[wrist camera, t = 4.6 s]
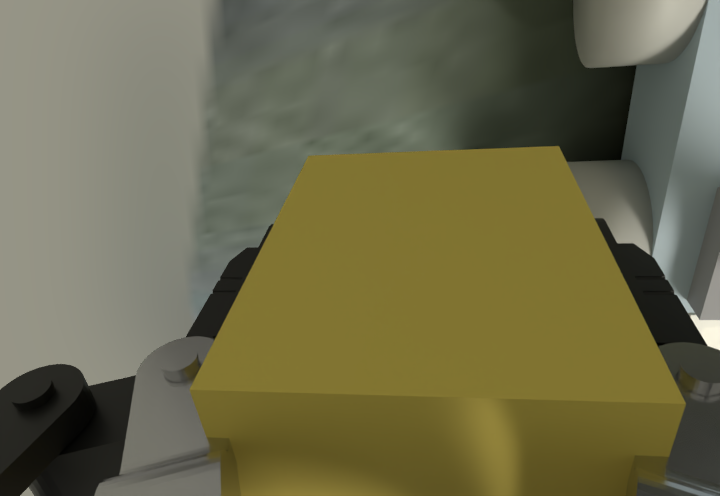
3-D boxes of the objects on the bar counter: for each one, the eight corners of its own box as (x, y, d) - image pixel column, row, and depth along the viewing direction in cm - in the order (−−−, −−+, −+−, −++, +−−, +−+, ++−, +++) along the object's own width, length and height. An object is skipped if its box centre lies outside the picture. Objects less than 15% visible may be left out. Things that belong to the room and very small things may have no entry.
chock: (308, 155, 11) (189, 390, 6) (558, 146, 11) (685, 402, 5) (340, 366, 14) (281, 645, 9) (534, 370, 14) (597, 677, 8)
